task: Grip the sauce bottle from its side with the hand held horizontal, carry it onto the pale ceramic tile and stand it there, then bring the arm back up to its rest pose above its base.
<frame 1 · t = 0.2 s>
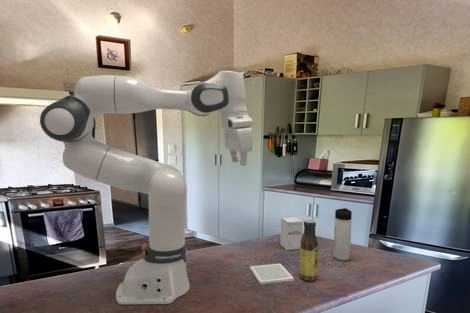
hand: (239, 163, 98), 40 cm above the counter, tool pointing down, fingers open, 8 cm apart
tile: (271, 274, 106), on the counter
supplement box: (290, 247, 132), on the counter
travel mug: (341, 258, 120), on the counter
sauce bottle: (308, 278, 104), on the counter
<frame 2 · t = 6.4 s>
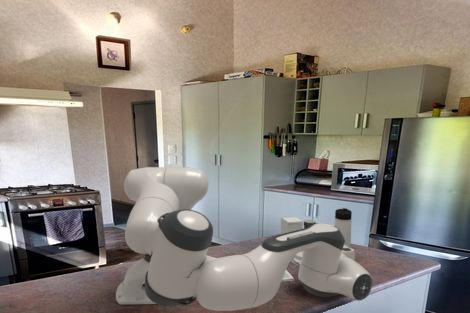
hand: (308, 245, 104), 11 cm above the counter, tool horizontal, fingers closed on sauce bottle, 6 cm apart
sauce bottle: (308, 277, 104), on the counter, touching gripper
everything else where it was.
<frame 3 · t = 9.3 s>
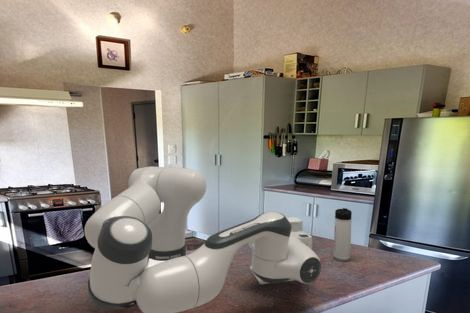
hand: (271, 233, 106), 15 cm above the counter, tool horizontal, fingers closed on sauce bottle, 6 cm apart
sauce bottle: (269, 272, 106), point 1 cm above the counter, touching gripper, tile
everything else where it was.
when the fingers open (13 cm above the counter, at t = 10.2 s): sauce bottle stays where it is, resting on tile.
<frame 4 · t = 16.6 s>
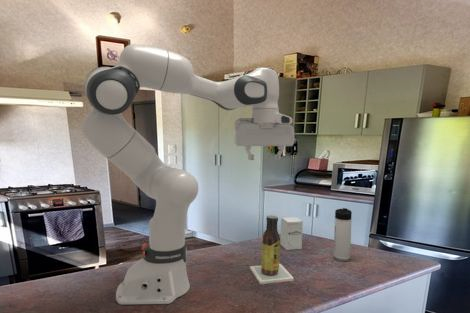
hand: (264, 159, 100), 41 cm above the counter, tool pointing down, fingers open, 8 cm apart
sauce bottle: (269, 272, 106), point 1 cm above the counter, touching tile
everything else where it was.
at the end: sauce bottle inside the target area on the tile (0.5 cm from its centre), point 0.8 cm above the tile's base; sauce bottle tilted 1°; the gripper is holding nothing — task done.
